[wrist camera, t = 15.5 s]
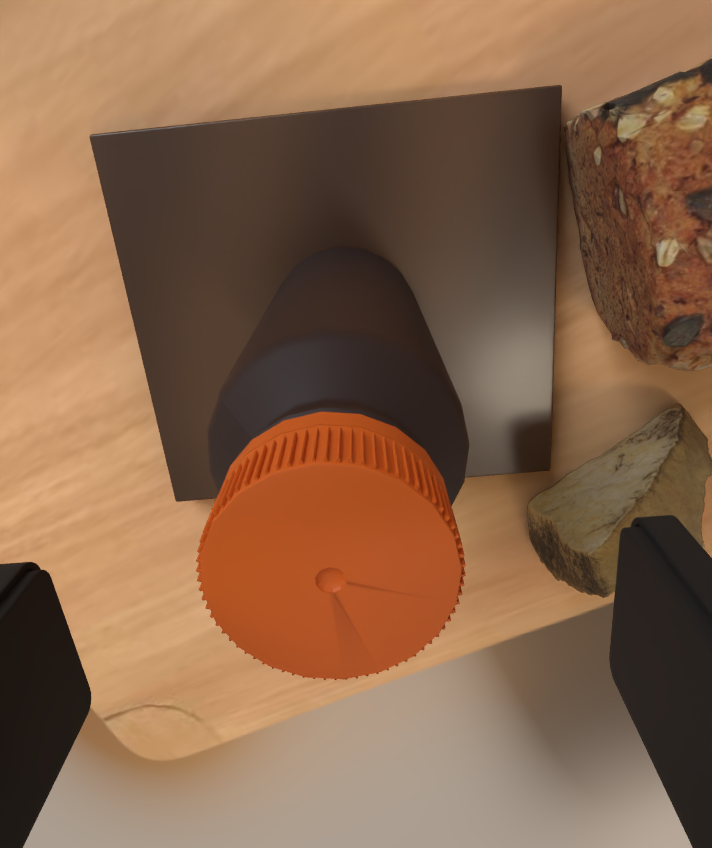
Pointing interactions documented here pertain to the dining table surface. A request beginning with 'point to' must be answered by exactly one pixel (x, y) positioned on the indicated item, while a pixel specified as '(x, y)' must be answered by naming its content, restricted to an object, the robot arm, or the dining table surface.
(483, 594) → the dining table surface
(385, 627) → the vinegar
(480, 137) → the serving board
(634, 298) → the bread
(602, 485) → the rock
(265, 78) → the dining table surface
